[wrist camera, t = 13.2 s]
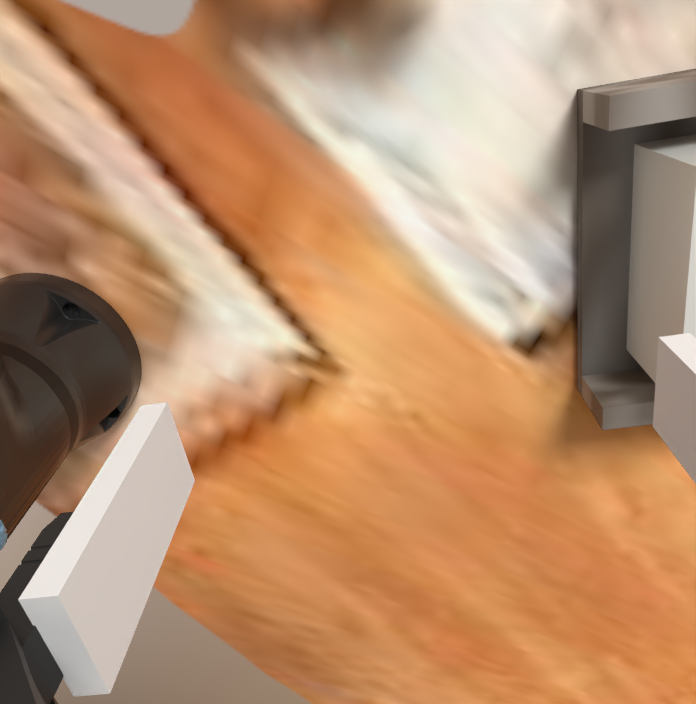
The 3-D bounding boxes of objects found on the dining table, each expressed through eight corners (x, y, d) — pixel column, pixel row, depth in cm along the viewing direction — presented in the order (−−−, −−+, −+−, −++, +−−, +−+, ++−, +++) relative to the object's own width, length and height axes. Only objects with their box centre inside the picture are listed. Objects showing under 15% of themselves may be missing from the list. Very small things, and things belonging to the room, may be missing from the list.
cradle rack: (577, 389, 52) (602, 430, 46) (577, 89, 41) (609, 95, 36) (724, 370, 51) (767, 410, 45) (762, 56, 40) (825, 58, 35)
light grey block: (626, 349, 49) (676, 408, 41) (634, 144, 42) (697, 167, 34) (691, 340, 48) (755, 399, 40) (710, 131, 41) (792, 151, 33)
